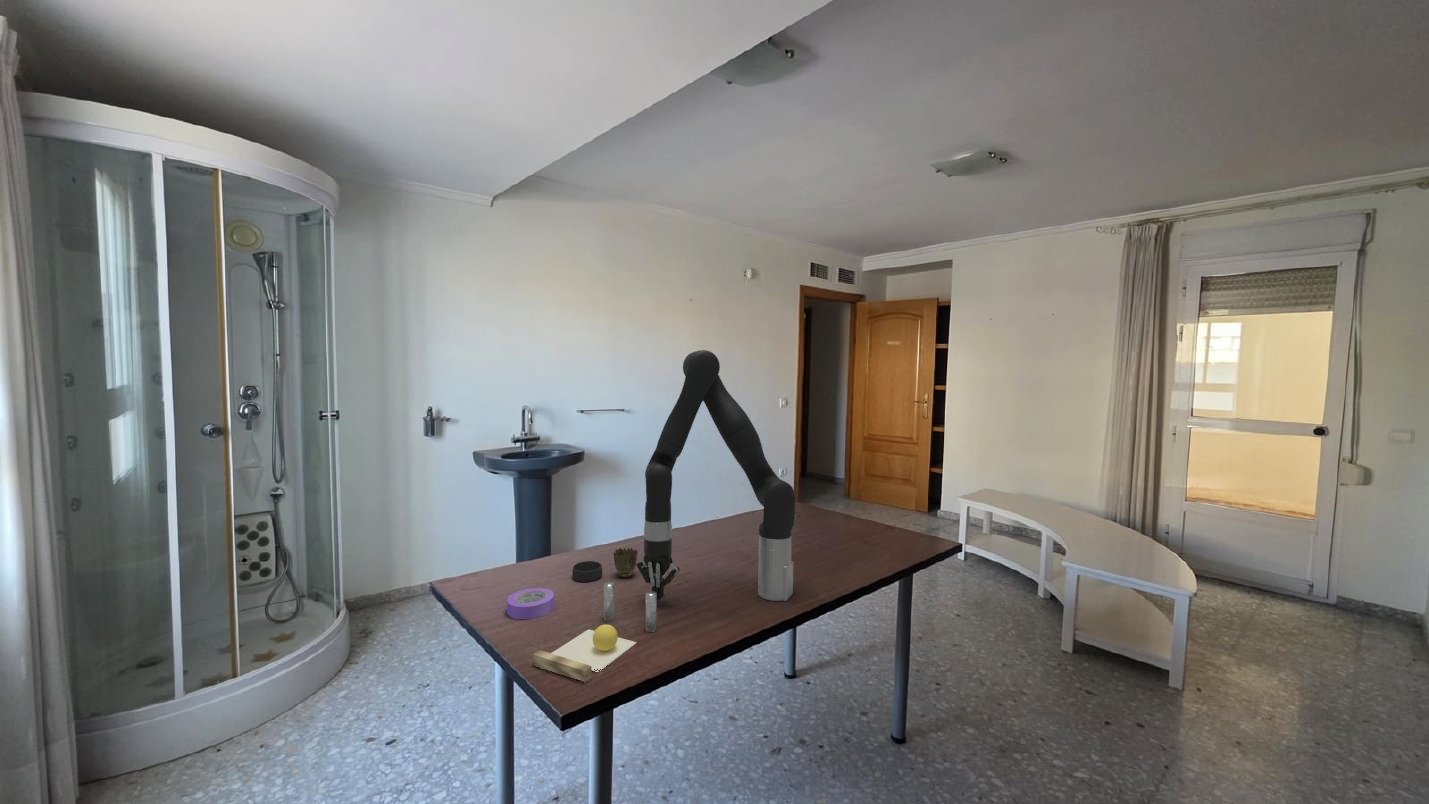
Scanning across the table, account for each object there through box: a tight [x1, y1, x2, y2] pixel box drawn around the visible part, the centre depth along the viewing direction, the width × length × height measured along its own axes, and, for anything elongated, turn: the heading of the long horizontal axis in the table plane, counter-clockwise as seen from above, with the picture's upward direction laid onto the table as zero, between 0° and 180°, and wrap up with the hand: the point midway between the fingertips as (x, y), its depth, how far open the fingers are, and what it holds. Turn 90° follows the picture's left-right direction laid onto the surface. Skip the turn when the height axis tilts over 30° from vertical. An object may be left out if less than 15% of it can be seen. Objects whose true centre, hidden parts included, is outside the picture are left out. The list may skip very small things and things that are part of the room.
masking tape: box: [506, 587, 555, 620], centre depth 136 cm, size 12×12×4 cm
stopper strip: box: [532, 649, 592, 682], centre depth 107 cm, size 14×2×2 cm, turn 64°
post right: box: [644, 590, 657, 633], centre depth 126 cm, size 3×3×9 cm
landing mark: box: [550, 629, 637, 673], centre depth 116 cm, size 14×14×1 cm
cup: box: [612, 547, 638, 579], centre depth 160 cm, size 8×7×8 cm
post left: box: [603, 581, 615, 622], centre depth 131 cm, size 3×3×9 cm
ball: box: [593, 623, 619, 651], centre depth 116 cm, size 6×6×6 cm
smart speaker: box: [572, 560, 603, 583], centre depth 160 cm, size 9×9×4 cm
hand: (657, 599), depth 140 cm, fingers closed
